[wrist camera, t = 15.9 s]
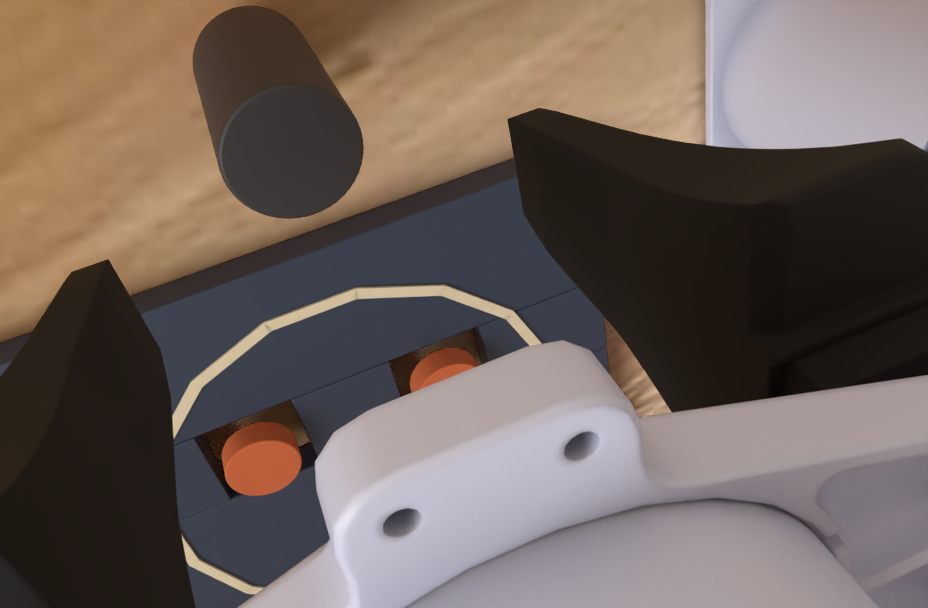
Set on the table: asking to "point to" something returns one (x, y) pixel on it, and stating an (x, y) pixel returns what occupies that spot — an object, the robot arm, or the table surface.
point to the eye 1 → (261, 458)
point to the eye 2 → (441, 367)
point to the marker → (274, 115)
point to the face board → (337, 349)
